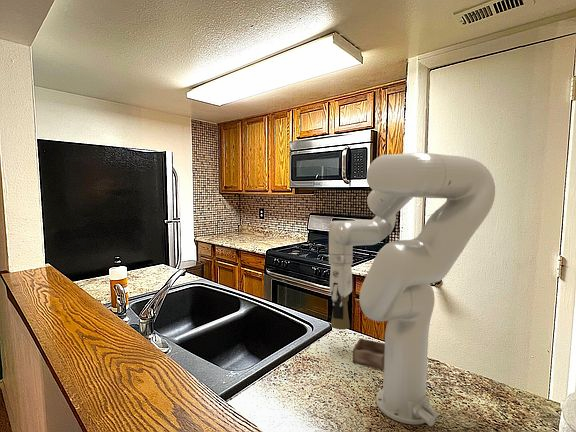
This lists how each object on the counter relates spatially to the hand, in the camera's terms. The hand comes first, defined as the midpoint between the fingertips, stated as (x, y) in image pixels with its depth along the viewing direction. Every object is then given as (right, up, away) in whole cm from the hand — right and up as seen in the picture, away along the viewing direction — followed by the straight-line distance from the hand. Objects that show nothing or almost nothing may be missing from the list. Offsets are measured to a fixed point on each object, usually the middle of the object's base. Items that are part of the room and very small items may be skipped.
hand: (340, 315), depth 99 cm
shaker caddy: (+9, -13, -3) cm, 16 cm away
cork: (0, -4, 0) cm, 4 cm away
